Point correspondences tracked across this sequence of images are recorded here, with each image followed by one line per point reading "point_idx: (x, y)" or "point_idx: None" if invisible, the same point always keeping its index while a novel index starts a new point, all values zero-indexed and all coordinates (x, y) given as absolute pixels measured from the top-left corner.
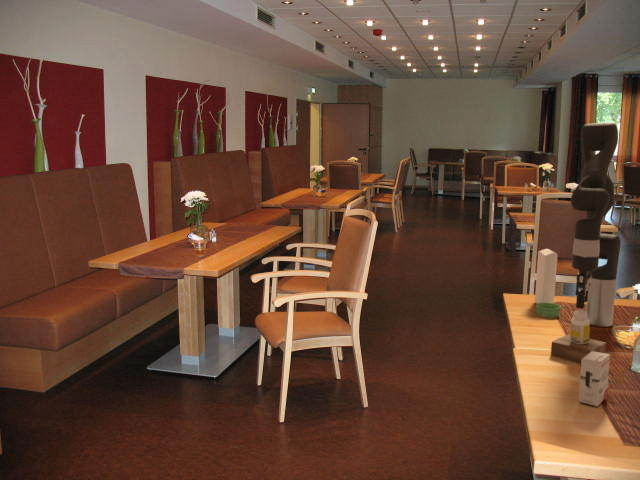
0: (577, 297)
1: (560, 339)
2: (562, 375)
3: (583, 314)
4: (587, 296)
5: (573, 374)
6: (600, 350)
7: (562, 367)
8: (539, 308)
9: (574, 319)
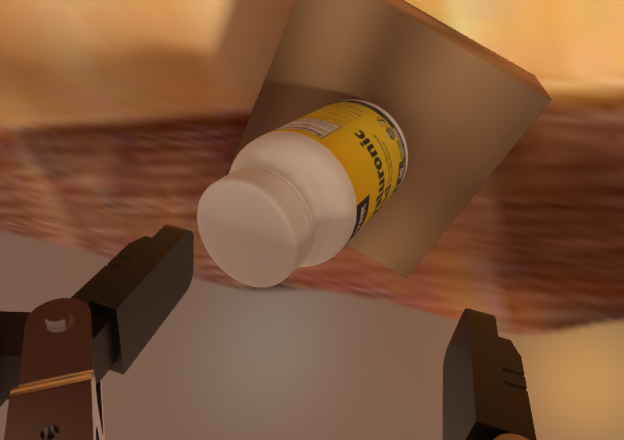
0: (99, 295)
1: (388, 29)
2: (72, 19)
3: (220, 248)
4: (443, 412)
5: (111, 70)
6: None
7: (173, 24)
8: None
9: (255, 164)
